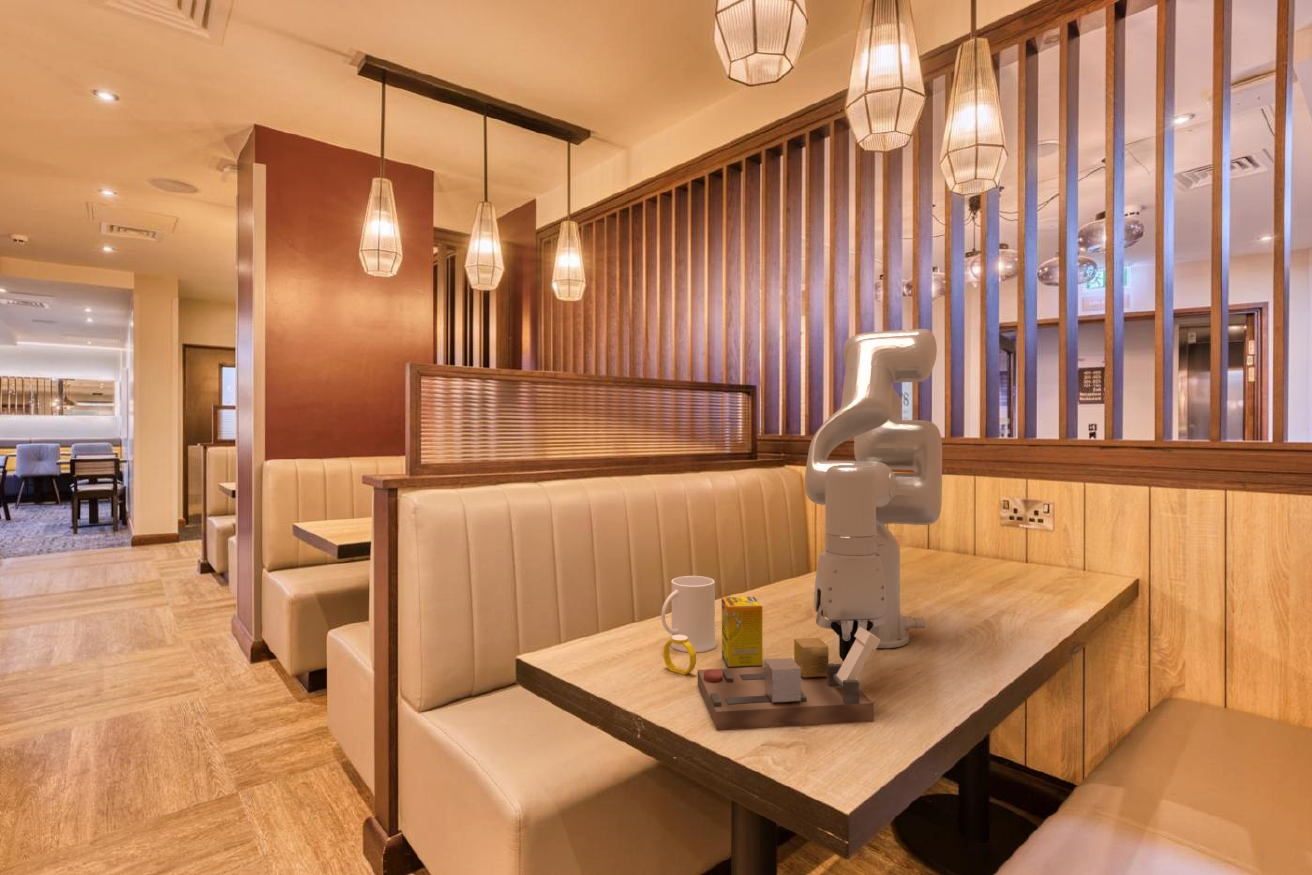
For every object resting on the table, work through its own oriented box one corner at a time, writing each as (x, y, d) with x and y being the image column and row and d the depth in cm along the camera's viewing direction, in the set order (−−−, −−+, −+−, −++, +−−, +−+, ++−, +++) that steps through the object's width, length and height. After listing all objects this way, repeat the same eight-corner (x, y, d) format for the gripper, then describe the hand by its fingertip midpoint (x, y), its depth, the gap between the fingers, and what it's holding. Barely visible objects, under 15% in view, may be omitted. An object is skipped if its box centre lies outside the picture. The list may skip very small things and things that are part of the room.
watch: (698, 675, 108) (700, 640, 107) (688, 680, 106) (690, 644, 105) (669, 664, 111) (671, 630, 111) (659, 669, 109) (661, 634, 109)
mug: (674, 660, 114) (673, 591, 113) (647, 646, 121) (646, 581, 121) (725, 646, 120) (725, 581, 120) (697, 634, 127) (697, 573, 127)
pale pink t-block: (839, 683, 95) (868, 631, 96) (852, 696, 91) (882, 641, 91) (829, 677, 95) (858, 625, 95) (841, 690, 91) (871, 635, 91)
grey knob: (791, 689, 94) (791, 657, 94) (800, 700, 90) (800, 668, 90) (764, 690, 93) (764, 659, 93) (772, 702, 89) (772, 669, 89)
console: (832, 678, 105) (832, 644, 105) (873, 720, 90) (873, 681, 90) (697, 685, 103) (697, 650, 102) (716, 730, 88) (716, 689, 88)
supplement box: (721, 658, 114) (720, 596, 114) (754, 657, 115) (754, 595, 114) (727, 671, 108) (727, 606, 108) (763, 670, 109) (762, 605, 109)
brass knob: (819, 666, 103) (819, 637, 102) (828, 675, 99) (828, 646, 98) (794, 667, 102) (794, 638, 102) (802, 677, 98) (802, 647, 98)
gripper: (885, 539, 105) (885, 652, 106) (795, 542, 103) (795, 657, 104) (908, 548, 98) (908, 670, 98) (812, 551, 96) (812, 675, 96)
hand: (850, 663), depth 101 cm, fingers closed
